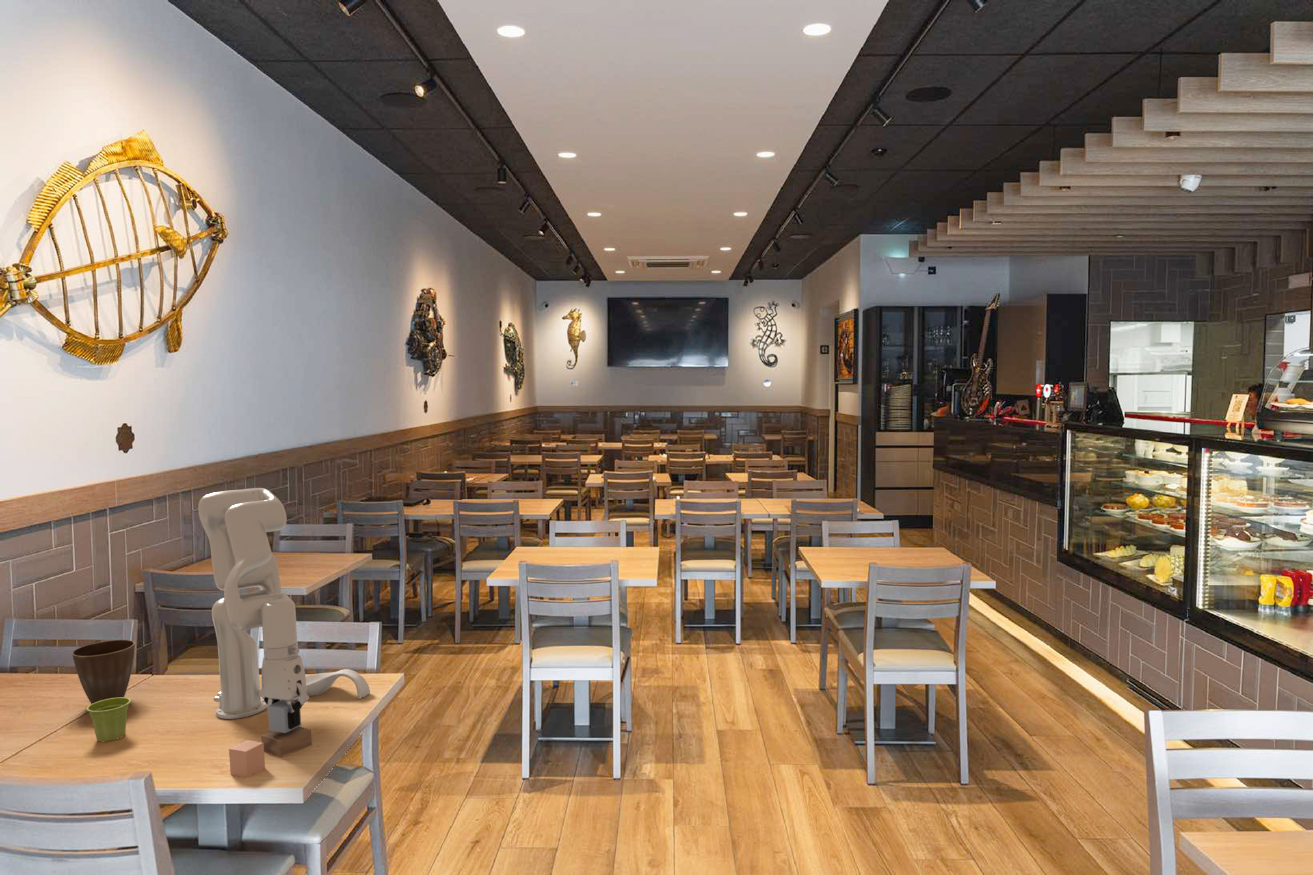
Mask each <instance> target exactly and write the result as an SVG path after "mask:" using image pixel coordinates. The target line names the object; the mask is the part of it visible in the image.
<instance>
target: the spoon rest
mask: <svg viewBox="0 0 1313 875" xmlns="http://www.w3.org/2000/svg"><path fill="white" fill-rule="evenodd" d="M341 677H345V678H348V679H350V680H351V681H352V682H353V684H354V685H355V687H356V693H357V699H358V700H361V699H363V698H365V697H367V696H369V695H370V694H371V690H370V686H369V683H368V682H367V680H366V679H365V677H364V676H362V675H361V674H360V673H359V672H357V671H355V670H352V669H350V668H344V669H343V668H342V669H340V670H337V671H333V672H321V673H320V672H319V673H315V674H314V673H313V674H309V675H305V678H306V688H307V692H306V694H307V695H308V697H314V696H313V695H315V696H319V695H322V694H325V693H326V692H327V691H328V689H331V687H332V686H333V684H334V683H335V682H336V680H337V679H338V678H341ZM362 697H363V698H362Z"/></svg>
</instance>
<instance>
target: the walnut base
mask: <svg viewBox="0 0 1313 875" xmlns="http://www.w3.org/2000/svg"><path fill="white" fill-rule="evenodd" d="M260 738H261V739H260V740H261V741H260V742H262V743H263V744H264V752H266V753H269V754H271V753H272V755H275V756H277V755H278V756H277V757H279V756H280V757H279V758H284V757H285V756H284V755H286V756H288V755H290V754H289V753H291V754H293V753H295V752H298V751H300V750H303V749H304V748H305V749H306V748H307V747H310V746H312V745H313V744H312V743H313V742H312V731H311V729H310V728H309V729H308V728H306V727H304V726H301V725H300V726H298V727H296V728H294V729H293V730H291V731H289V732H287V733H282V732H275V731H268V732H266V733H263V734H261V735H260ZM287 754H288V755H287Z"/></svg>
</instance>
